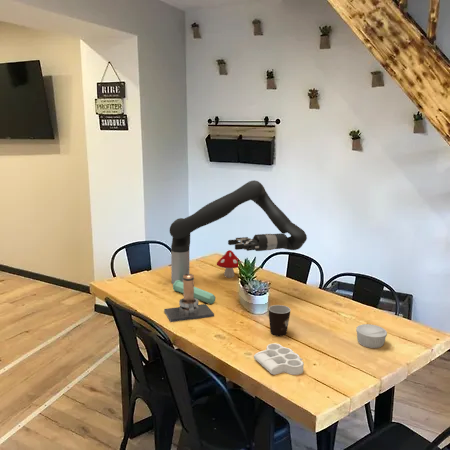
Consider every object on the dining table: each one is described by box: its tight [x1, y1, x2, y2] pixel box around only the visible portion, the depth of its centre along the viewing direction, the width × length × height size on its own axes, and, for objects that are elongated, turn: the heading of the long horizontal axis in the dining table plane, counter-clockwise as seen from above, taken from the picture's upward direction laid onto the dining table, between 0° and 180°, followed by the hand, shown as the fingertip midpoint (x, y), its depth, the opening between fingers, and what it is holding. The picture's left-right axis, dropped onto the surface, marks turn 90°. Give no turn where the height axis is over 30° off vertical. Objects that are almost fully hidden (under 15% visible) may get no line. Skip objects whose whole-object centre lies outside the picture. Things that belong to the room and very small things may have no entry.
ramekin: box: [355, 323, 388, 349], centre depth 181 cm, size 11×11×5 cm
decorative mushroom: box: [216, 249, 243, 279], centre depth 254 cm, size 14×14×15 cm
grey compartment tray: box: [253, 342, 305, 376], centre depth 165 cm, size 3×18×15 cm
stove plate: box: [163, 297, 215, 323], centre depth 205 cm, size 12×19×6 cm, turn 110°
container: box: [172, 280, 216, 305], centre depth 226 cm, size 6×6×25 cm
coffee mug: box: [268, 304, 292, 337], centre depth 188 cm, size 12×9×10 cm
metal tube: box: [183, 273, 195, 310], centre depth 204 cm, size 5×5×16 cm
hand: (231, 244), depth 212 cm, fingers open, 8 cm apart
